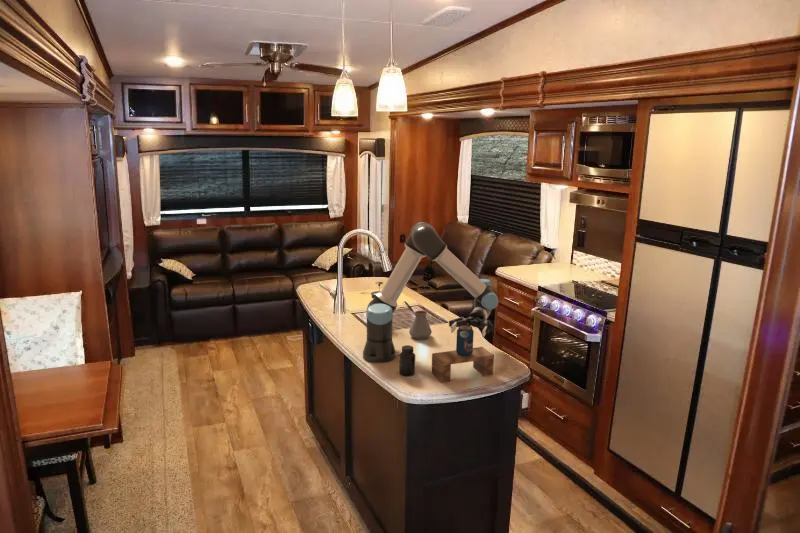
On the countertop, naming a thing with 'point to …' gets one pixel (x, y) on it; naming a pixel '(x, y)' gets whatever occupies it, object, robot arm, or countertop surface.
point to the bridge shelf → (445, 359)
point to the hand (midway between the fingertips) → (467, 331)
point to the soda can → (464, 341)
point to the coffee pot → (419, 325)
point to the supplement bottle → (407, 361)
